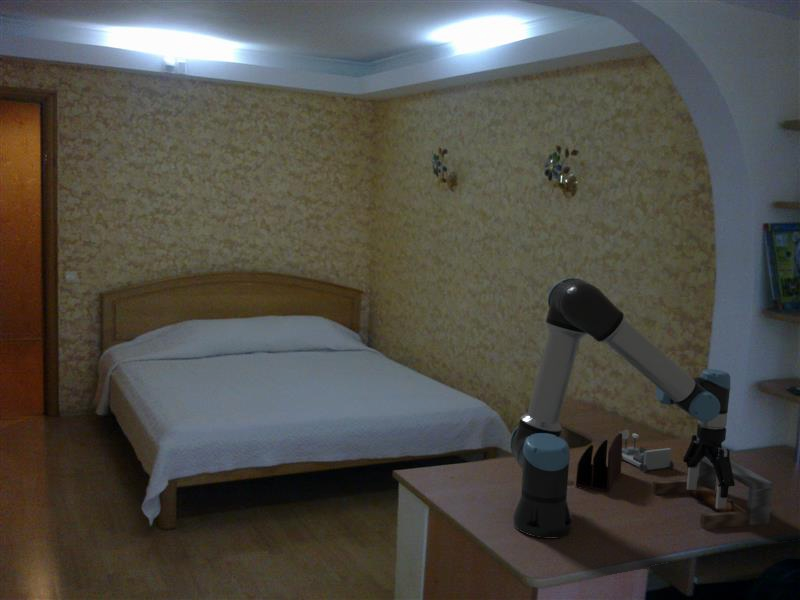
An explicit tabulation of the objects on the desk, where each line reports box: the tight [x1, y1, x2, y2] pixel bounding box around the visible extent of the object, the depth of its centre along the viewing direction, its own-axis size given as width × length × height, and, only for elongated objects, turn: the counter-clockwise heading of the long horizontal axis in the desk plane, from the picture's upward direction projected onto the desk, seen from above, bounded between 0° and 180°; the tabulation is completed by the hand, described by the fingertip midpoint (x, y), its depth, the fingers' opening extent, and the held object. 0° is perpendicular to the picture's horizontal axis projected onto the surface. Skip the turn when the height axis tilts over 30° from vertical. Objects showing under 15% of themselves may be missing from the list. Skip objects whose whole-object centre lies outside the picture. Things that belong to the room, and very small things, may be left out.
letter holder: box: [575, 432, 623, 494], centre depth 239 cm, size 10×20×14 cm, turn 154°
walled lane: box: [652, 457, 774, 530], centre depth 220 cm, size 20×25×12 cm
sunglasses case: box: [690, 486, 745, 513], centre depth 221 cm, size 18×7×7 cm
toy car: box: [617, 427, 675, 474], centre depth 256 cm, size 18×10×12 cm
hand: (705, 498), depth 220 cm, fingers open, 13 cm apart
